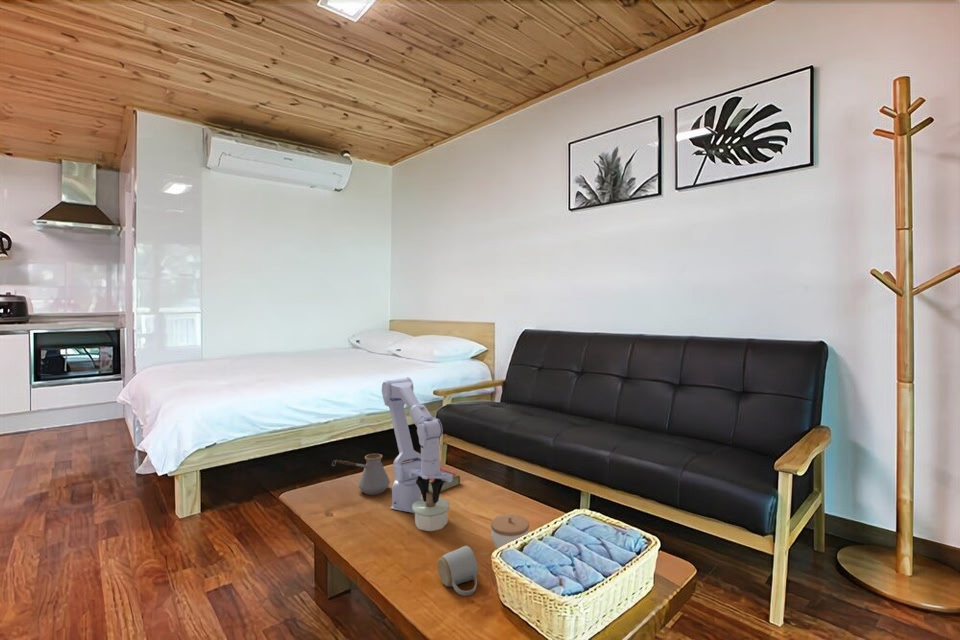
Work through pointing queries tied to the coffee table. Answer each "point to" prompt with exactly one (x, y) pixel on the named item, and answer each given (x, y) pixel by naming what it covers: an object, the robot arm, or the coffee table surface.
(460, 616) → the coffee table surface
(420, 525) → the bowl
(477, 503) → the coffee table surface
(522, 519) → the lidded jar
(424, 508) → the lid
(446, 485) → the hardcover book
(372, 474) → the coffee pot
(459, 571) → the ceramic mug
